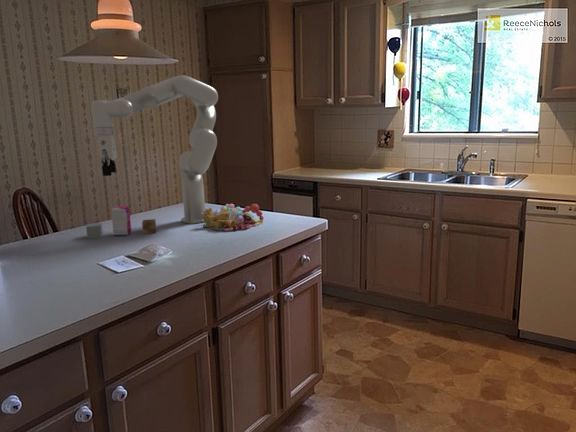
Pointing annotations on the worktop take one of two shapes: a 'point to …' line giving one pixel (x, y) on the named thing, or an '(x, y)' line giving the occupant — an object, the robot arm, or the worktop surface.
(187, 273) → the worktop surface
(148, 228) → the walnut block
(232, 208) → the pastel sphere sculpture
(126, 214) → the supplement box
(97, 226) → the slate block
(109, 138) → the robot arm
